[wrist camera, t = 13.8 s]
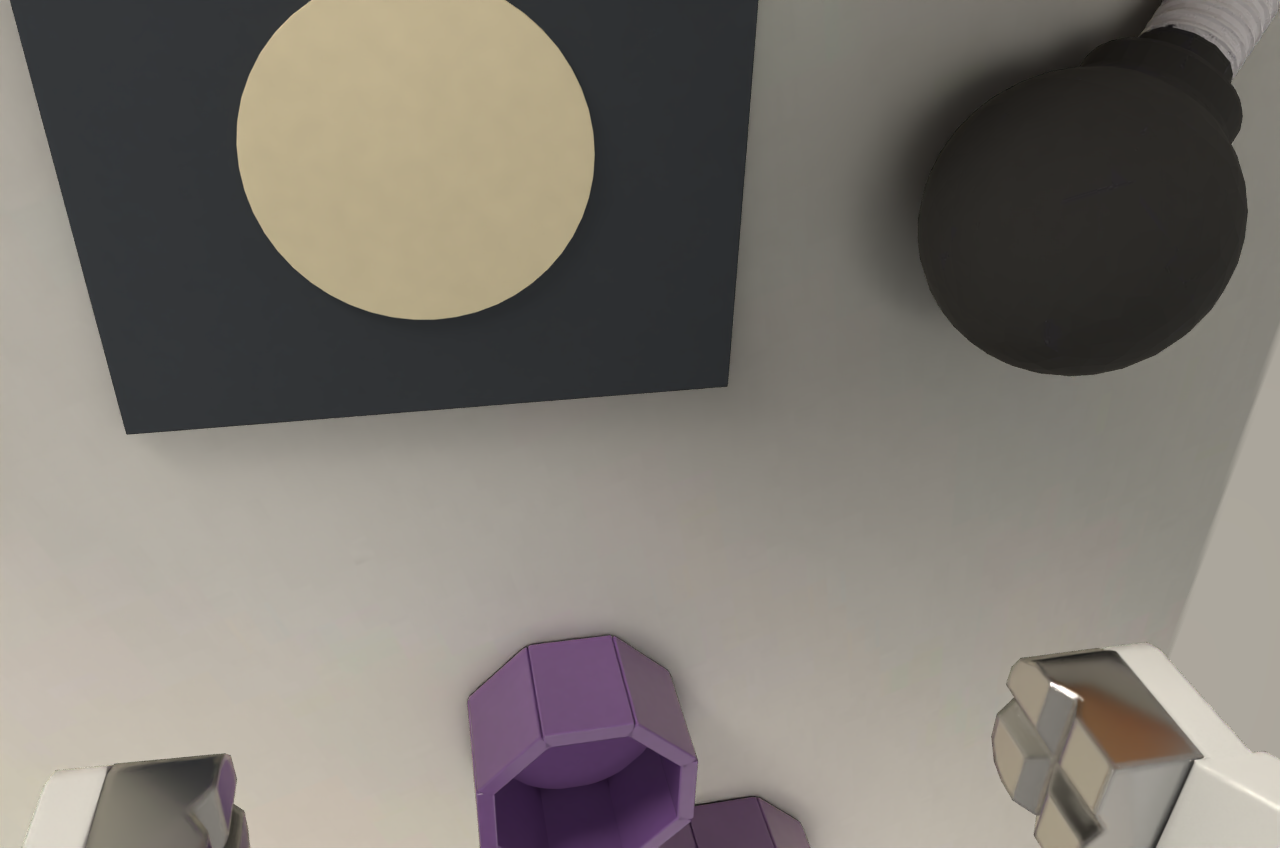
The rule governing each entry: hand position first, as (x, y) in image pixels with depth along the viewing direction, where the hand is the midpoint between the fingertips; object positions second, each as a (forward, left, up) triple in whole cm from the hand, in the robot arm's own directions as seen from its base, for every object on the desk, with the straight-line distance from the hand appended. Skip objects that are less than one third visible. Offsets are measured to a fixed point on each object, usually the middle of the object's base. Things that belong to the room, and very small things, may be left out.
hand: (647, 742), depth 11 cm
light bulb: (-12, -2, -15) cm, 19 cm away
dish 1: (-1, +15, -15) cm, 21 cm away
